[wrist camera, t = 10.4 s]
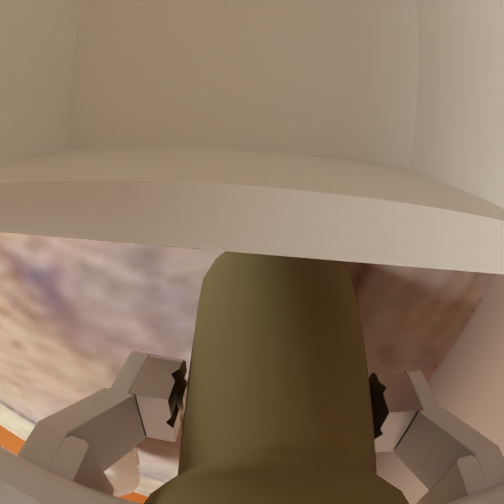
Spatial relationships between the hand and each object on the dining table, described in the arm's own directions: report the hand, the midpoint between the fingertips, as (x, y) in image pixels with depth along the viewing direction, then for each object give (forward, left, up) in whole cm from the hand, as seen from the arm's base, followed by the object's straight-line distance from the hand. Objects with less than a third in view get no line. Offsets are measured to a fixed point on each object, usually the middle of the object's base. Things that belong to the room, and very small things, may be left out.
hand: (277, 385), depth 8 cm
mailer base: (-13, -2, -4) cm, 14 cm away
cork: (0, 0, -4) cm, 4 cm away
